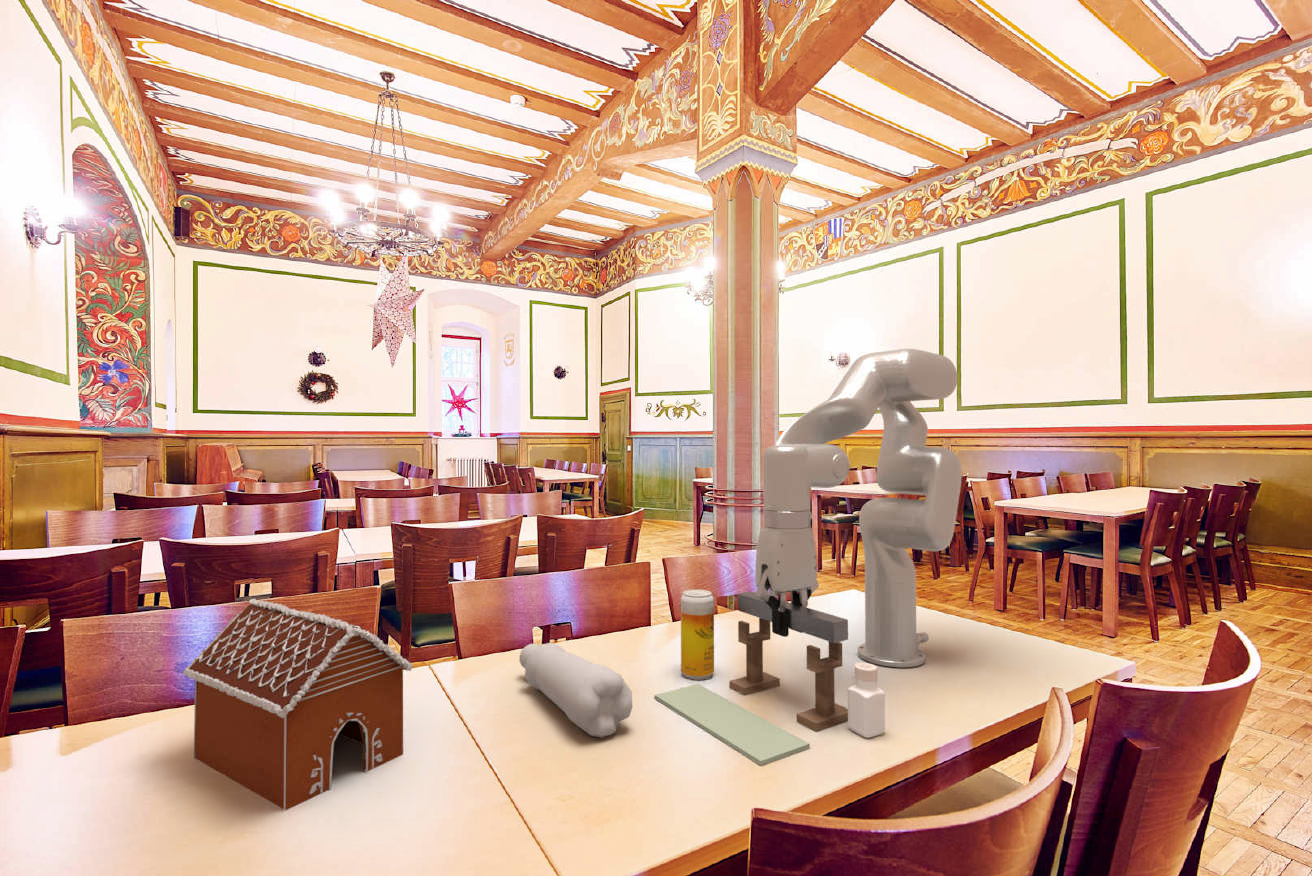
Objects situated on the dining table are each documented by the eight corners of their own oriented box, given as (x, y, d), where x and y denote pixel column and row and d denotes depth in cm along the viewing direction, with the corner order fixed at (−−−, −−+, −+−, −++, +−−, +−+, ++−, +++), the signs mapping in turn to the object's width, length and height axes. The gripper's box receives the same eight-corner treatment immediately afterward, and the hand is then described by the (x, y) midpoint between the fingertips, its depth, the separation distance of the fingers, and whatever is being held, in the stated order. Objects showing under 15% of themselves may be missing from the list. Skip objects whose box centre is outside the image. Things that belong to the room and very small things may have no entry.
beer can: (712, 682, 110) (711, 597, 110) (678, 679, 111) (678, 595, 112) (715, 670, 116) (715, 589, 116) (683, 668, 117) (683, 588, 118)
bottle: (648, 706, 92) (563, 657, 117) (617, 661, 89) (537, 620, 114) (603, 755, 87) (525, 693, 112) (570, 709, 85) (497, 655, 110)
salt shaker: (866, 740, 88) (866, 673, 88) (846, 729, 91) (845, 664, 92) (886, 734, 90) (886, 668, 90) (865, 723, 93) (865, 660, 94)
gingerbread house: (277, 822, 69) (279, 640, 69) (175, 760, 82) (177, 609, 83) (419, 753, 84) (420, 605, 85) (313, 711, 98) (315, 584, 99)
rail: (738, 610, 110) (737, 593, 110) (750, 607, 112) (750, 591, 112) (834, 643, 92) (834, 622, 92) (848, 639, 93) (847, 619, 93)
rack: (764, 678, 112) (763, 614, 112) (853, 719, 95) (852, 643, 95) (729, 687, 107) (729, 621, 108) (816, 731, 91) (815, 652, 91)
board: (698, 687, 108) (698, 684, 108) (809, 748, 86) (809, 743, 86) (654, 698, 103) (654, 694, 103) (760, 765, 81) (760, 761, 81)
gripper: (805, 515, 109) (807, 619, 109) (733, 522, 101) (735, 635, 100) (838, 519, 103) (840, 629, 103) (765, 527, 94) (767, 648, 94)
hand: (788, 631), depth 102 cm, fingers closed on rail, 3 cm apart
